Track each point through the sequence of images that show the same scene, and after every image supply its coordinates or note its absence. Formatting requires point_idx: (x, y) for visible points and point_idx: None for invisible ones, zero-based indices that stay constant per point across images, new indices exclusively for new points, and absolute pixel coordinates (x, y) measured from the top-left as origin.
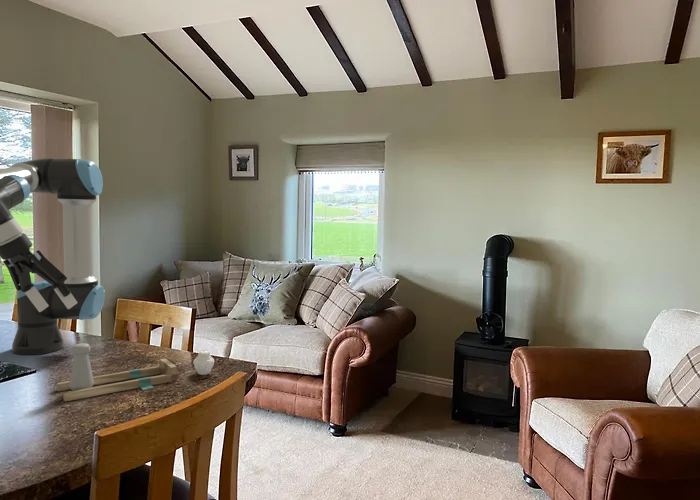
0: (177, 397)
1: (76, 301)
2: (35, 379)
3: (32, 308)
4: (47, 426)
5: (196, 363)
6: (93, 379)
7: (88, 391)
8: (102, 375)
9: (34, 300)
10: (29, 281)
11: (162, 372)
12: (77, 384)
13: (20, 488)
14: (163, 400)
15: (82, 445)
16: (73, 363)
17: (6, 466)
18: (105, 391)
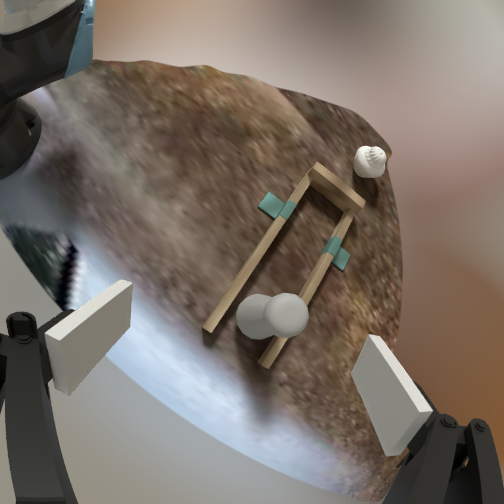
0: (394, 275)
1: (381, 340)
2: None
3: None
4: (317, 437)
5: (372, 174)
6: (248, 276)
7: None
8: (253, 255)
9: (100, 350)
10: (44, 397)
11: (315, 187)
12: (269, 336)
13: (383, 496)
14: (387, 293)
15: None
16: (261, 328)
17: (349, 496)
18: None
